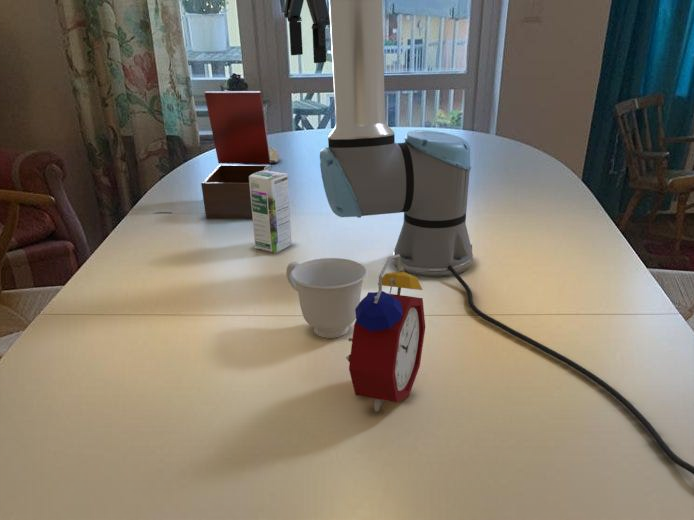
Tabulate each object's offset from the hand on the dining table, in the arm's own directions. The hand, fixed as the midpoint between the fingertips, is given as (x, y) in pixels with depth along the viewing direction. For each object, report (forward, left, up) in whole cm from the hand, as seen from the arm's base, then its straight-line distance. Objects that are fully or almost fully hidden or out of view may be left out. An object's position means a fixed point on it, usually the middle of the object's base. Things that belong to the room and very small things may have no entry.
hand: (308, 58), depth 168 cm
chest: (-17, +15, -29) cm, 36 cm away
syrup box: (-42, +2, -29) cm, 51 cm away
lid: (-11, +15, -13) cm, 23 cm away
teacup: (-79, -14, -29) cm, 85 cm away
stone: (+24, +19, -29) cm, 42 cm away
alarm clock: (-99, -25, -29) cm, 106 cm away
